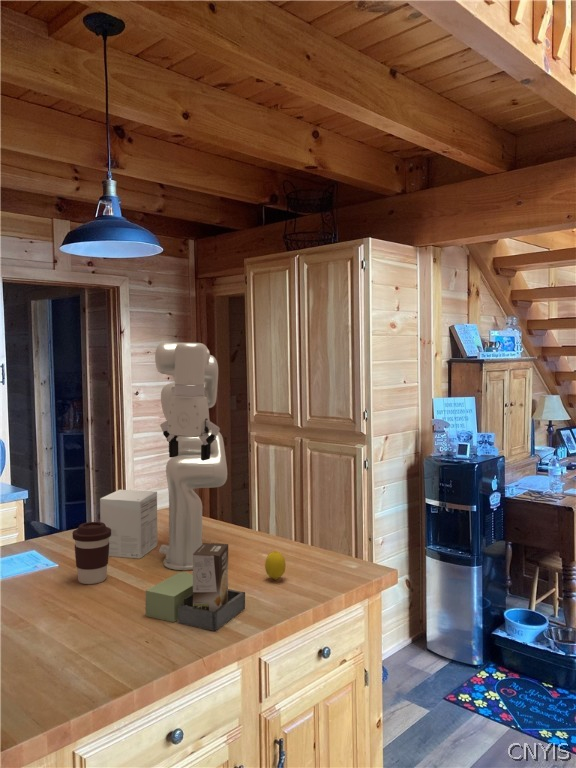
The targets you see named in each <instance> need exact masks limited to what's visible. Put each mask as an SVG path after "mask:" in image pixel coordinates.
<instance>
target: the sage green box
mask: <svg viewBox="0 0 576 768" xmlns="http://www.w3.org/2000/svg"><path fill="white" fill-rule="evenodd" d="M180 604H181V605H185V606H190V607H193V573H189V572H185V571H179V572H177V573H175V574H173V575H171V576H169V577H167V578H166V579H164V580H162V581H160V582H159V583H156V584H155V585H153V586H151V587H149V588H147V589H145V616H146V617H150V618H153V619H156V620H157V619H159V620H163V621H167V622H171V623H176V622H178V606H179V605H180Z"/></svg>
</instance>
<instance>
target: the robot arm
mask: <svg viewBox="0 0 576 768" xmlns="http://www.w3.org/2000/svg"><path fill="white" fill-rule="evenodd" d="M155 348H156V349H155V352H154V353H155V354H154V361H155V368H156V370H157V372H158V373H159V374H162V375H168V376H172V377H173V379H174V382H172V383H168V384H165V385H164V386H163V387H162V389H161V390H160V391H161V392H160V403H161V404H160V405H161V408H162V413H163V416H164V418H165V421H163V422H161V424H160V428H161V431H162V435H163V436H164V437H165V438H166V442H168V453H169V455H168V456H169V458H170V459H168V460H167V462H166V466H165V475H166V476H165V477H166V484H167V490H168V545H167V544H161V545H160V548H159V549H158V554H164V555H165V558H164V559H163V566H164V567H166V568H167V569H170V570H175V571H191V570H192V571H193V554H194V552H195V551H196V550H197V549H198V548H199V547H200V546H201V545H202V544H203V503H202V499H201V498H200V496H199V495H198V494H197V493H196V491H195V490H194V489H203V488H204V489H205V488H206V489H207V488H210V489H211V488H219V487H220V488H221V487H222V486H224V484H226V482H227V480H228V466H227V457H226V451H225V443H224V438H223V435H222V433H220V430H221V428H220V426H218V425H216V424H215V423H213V422H212V421H211V420H210V411H209V409H211V408H213V407H214V406H215V405H216V402H217V399H218V398H217V397H218V395H217V394H218V382H219V365H218V361H217V359H216V357H215V356H214V355H211V353H210V350H209V349H208V347H207V345H206V344H204V343H201V342H175V341H174V342H161V343H159V344H158V345H157V346H156V347H155Z"/></svg>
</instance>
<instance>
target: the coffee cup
mask: <svg viewBox="0 0 576 768" xmlns="http://www.w3.org/2000/svg"><path fill="white" fill-rule="evenodd" d="M110 536H111V529H110V528H109V527H106V525H105V524H104V523H102V522H100V521H88V522H83V523H81V524H79V525H78V527H77V528H76V529H74V530H73V531H72V540H74V557H75V565H76V566H75V567H76V568H77V569H76V570H77V581H78V583H80V584H84V585H95V584H99V583H102V582H104V581H105V580H106V579H107V575H108V574H107V573H108V564H109V557H110V556H109V537H110Z"/></svg>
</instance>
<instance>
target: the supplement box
mask: <svg viewBox="0 0 576 768" xmlns="http://www.w3.org/2000/svg"><path fill="white" fill-rule="evenodd" d="M99 511H100V512H99V516H100V517H99V522H102V523H104V524H105V525H106V527H109V528H110V529H111V536H110V537H109V557H118V558H125V559H126V558H128V559H137V560H138V559H142V558H143V557H145V556H146V555H147V554H148V553H149V552H151V551H152V550H154V549H155V548H156V547H158V491H149V490H134V489H133V490H132V489H118V490H116V491H114V492H112V493H109V494H107V495H105V496H102V497H100V499H99Z"/></svg>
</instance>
